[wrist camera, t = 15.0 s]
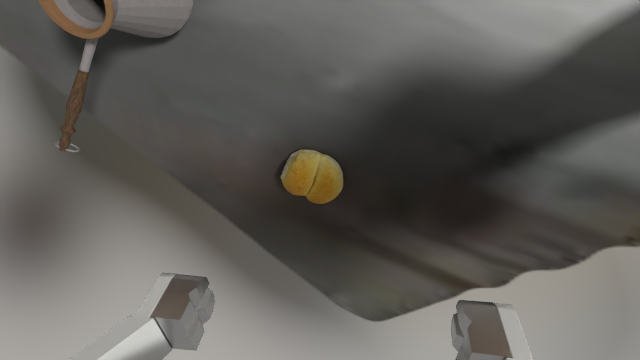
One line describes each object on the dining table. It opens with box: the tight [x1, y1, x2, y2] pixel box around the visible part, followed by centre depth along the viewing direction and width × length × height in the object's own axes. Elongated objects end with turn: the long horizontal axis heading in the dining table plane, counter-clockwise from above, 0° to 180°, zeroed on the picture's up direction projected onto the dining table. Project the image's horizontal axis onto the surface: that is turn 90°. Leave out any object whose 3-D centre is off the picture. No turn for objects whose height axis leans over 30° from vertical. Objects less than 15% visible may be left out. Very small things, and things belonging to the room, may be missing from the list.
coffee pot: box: [39, 0, 194, 152], centre depth 35 cm, size 21×12×15 cm, turn 156°
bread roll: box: [280, 149, 343, 204], centre depth 50 cm, size 8×9×4 cm
